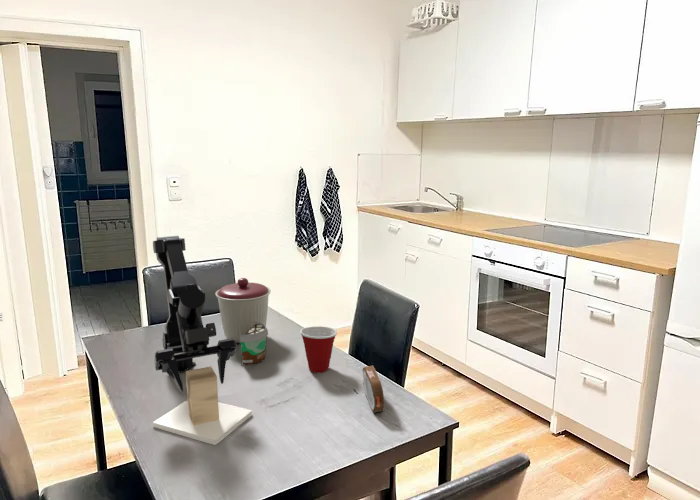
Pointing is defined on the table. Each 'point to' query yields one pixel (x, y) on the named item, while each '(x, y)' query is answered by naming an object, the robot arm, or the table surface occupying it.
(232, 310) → the canister
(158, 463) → the table surface
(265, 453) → the table surface
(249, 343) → the food container
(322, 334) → the plastic cup
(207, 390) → the wooden block
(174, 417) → the cutting board
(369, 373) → the tin
